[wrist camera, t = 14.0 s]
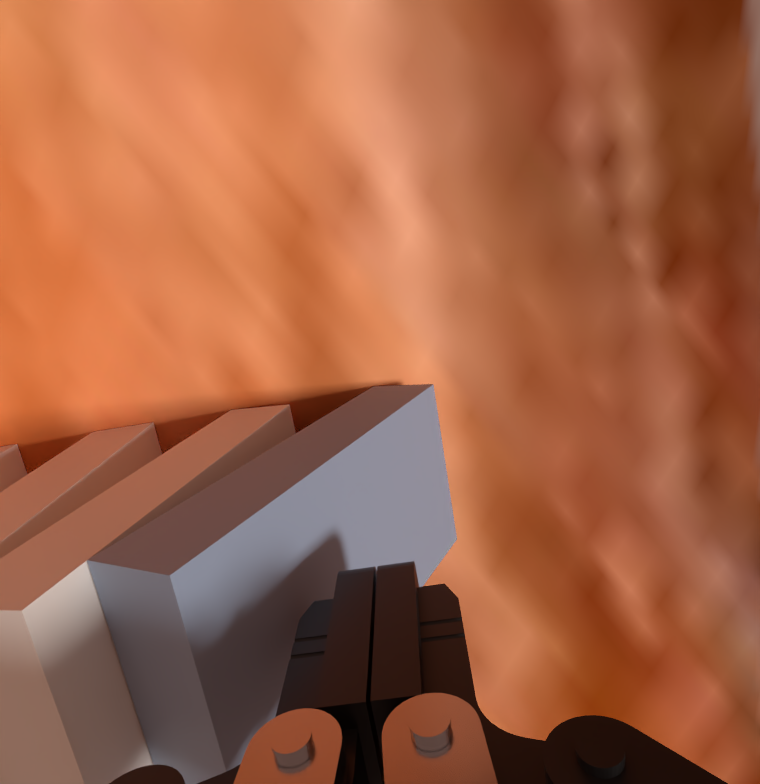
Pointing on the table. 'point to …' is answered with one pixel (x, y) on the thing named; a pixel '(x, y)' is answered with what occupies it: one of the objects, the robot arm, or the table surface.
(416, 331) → the table surface
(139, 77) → the table surface
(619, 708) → the table surface
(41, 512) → the tile
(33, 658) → the tile
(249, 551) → the tile
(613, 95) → the table surface
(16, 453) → the tile
